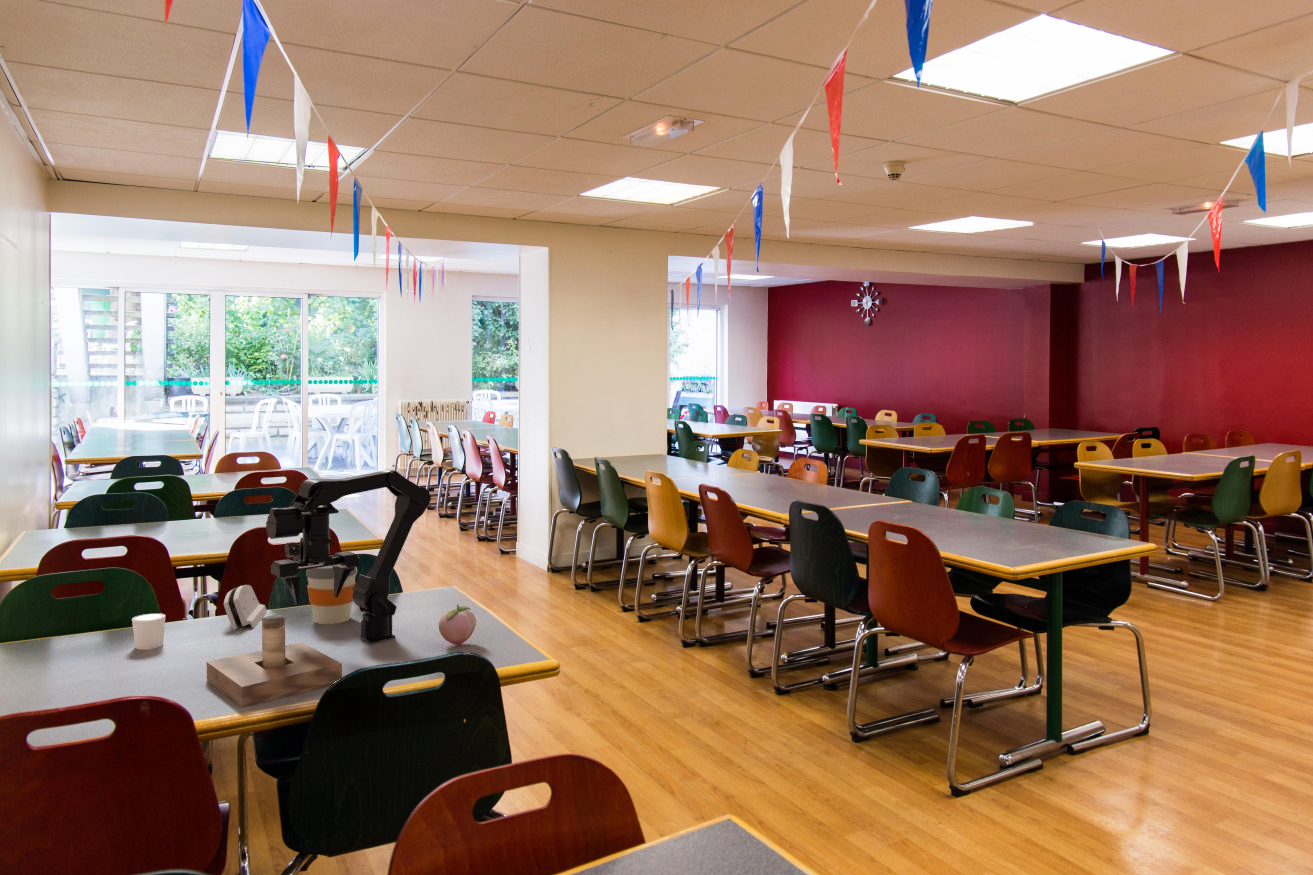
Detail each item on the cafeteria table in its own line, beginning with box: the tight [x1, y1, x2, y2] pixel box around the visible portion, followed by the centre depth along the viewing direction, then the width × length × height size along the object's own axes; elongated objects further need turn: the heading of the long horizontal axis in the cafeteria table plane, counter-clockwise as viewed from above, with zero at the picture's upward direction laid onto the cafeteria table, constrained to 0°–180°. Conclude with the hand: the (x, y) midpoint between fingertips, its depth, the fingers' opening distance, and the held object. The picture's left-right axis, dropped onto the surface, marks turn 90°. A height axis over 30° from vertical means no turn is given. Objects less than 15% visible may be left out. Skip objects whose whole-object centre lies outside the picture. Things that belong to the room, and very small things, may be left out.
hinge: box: [223, 584, 268, 630], centre depth 223 cm, size 17×5×10 cm, turn 14°
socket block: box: [206, 641, 343, 708], centre depth 179 cm, size 20×20×4 cm
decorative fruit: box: [438, 604, 477, 646], centre depth 205 cm, size 9×8×10 cm
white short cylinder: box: [131, 612, 166, 651], centre depth 201 cm, size 7×7×7 cm
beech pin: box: [261, 614, 286, 669], centre depth 179 cm, size 4×4×13 cm
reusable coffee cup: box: [305, 562, 358, 625], centre depth 225 cm, size 13×13×15 cm
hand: (316, 600), depth 198 cm, fingers open, 9 cm apart
